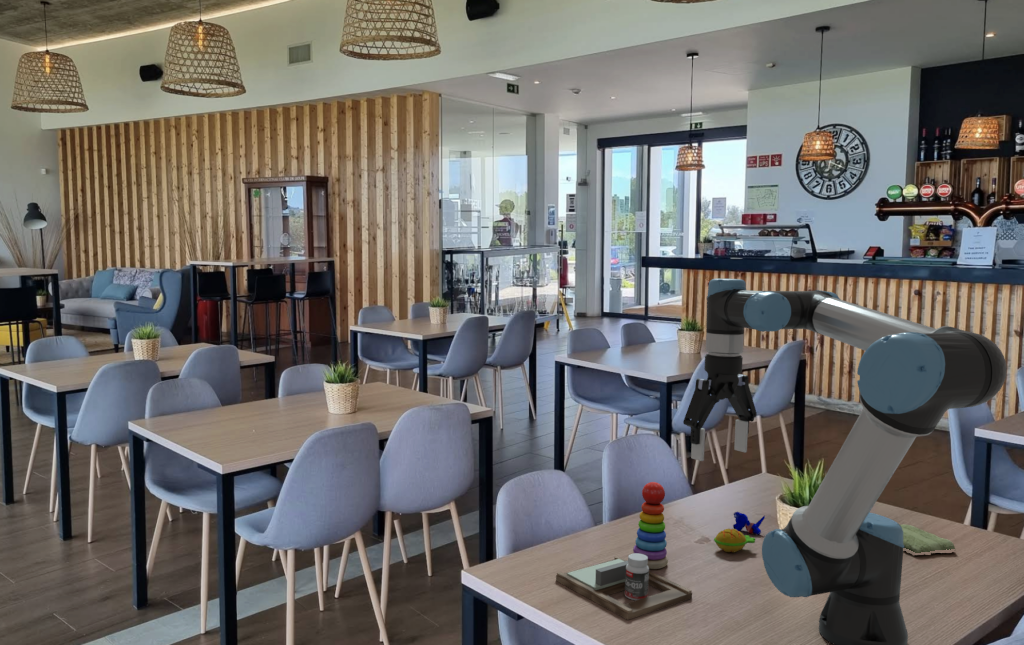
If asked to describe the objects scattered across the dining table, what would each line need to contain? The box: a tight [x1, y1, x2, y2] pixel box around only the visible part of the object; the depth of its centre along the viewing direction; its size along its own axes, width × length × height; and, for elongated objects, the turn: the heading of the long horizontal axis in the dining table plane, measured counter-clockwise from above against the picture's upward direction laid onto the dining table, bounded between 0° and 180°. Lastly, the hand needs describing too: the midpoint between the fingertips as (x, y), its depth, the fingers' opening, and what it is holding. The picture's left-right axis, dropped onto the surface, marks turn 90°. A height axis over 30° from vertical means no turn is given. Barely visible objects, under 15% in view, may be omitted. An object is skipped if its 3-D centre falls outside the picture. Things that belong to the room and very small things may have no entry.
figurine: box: [732, 511, 766, 535], centre depth 207 cm, size 5×8×5 cm, turn 64°
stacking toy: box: [632, 481, 669, 570], centre depth 184 cm, size 8×8×19 cm
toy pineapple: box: [713, 528, 756, 553], centre depth 194 cm, size 7×10×5 cm
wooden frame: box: [555, 555, 693, 621], centre depth 170 cm, size 22×18×2 cm
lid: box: [567, 559, 628, 590], centre depth 174 cm, size 9×15×4 cm, turn 125°
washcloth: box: [899, 524, 956, 553], centre depth 202 cm, size 13×18×3 cm
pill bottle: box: [624, 552, 650, 601], centre depth 167 cm, size 5×5×8 cm
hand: (719, 455), depth 170 cm, fingers open, 13 cm apart
